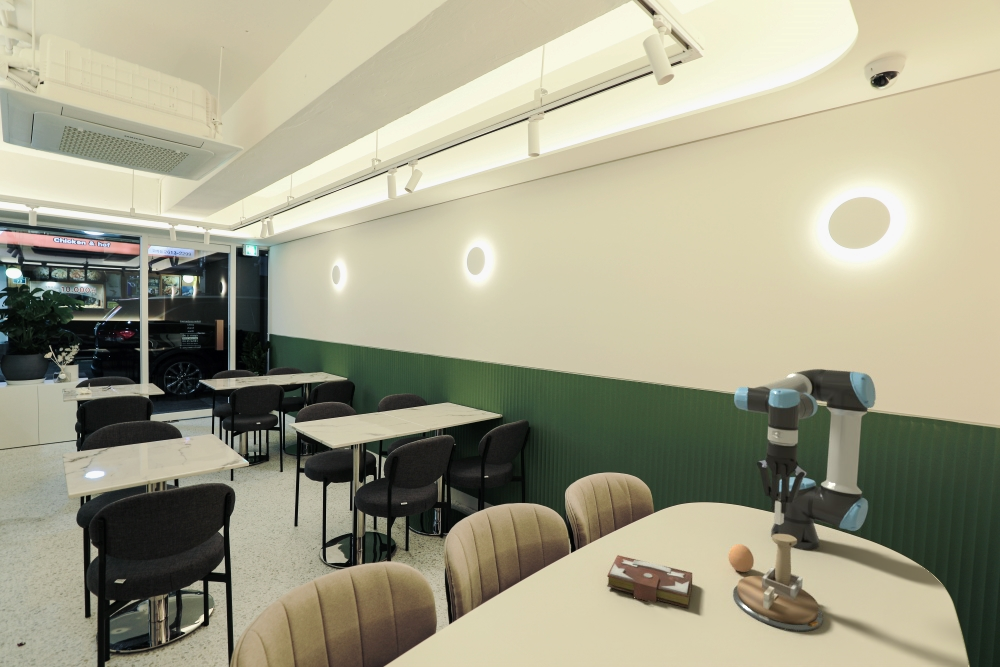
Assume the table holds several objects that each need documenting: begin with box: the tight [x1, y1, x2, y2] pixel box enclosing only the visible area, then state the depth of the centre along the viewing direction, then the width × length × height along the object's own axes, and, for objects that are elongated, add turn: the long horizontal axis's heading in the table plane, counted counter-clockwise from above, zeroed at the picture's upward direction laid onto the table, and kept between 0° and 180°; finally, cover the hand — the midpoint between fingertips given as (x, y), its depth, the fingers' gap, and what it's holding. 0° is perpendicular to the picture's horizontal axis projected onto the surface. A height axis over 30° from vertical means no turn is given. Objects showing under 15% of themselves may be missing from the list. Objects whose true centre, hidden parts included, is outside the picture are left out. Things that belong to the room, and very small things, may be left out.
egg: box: [728, 543, 755, 573], centre depth 154 cm, size 7×7×8 cm
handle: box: [771, 534, 797, 586], centre depth 138 cm, size 5×6×15 cm
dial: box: [736, 566, 820, 624], centre depth 135 cm, size 20×20×6 cm
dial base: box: [732, 585, 824, 633], centre depth 135 cm, size 22×22×2 cm
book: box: [606, 554, 693, 609], centre depth 144 cm, size 23×16×5 cm
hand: (778, 522), depth 137 cm, fingers closed
